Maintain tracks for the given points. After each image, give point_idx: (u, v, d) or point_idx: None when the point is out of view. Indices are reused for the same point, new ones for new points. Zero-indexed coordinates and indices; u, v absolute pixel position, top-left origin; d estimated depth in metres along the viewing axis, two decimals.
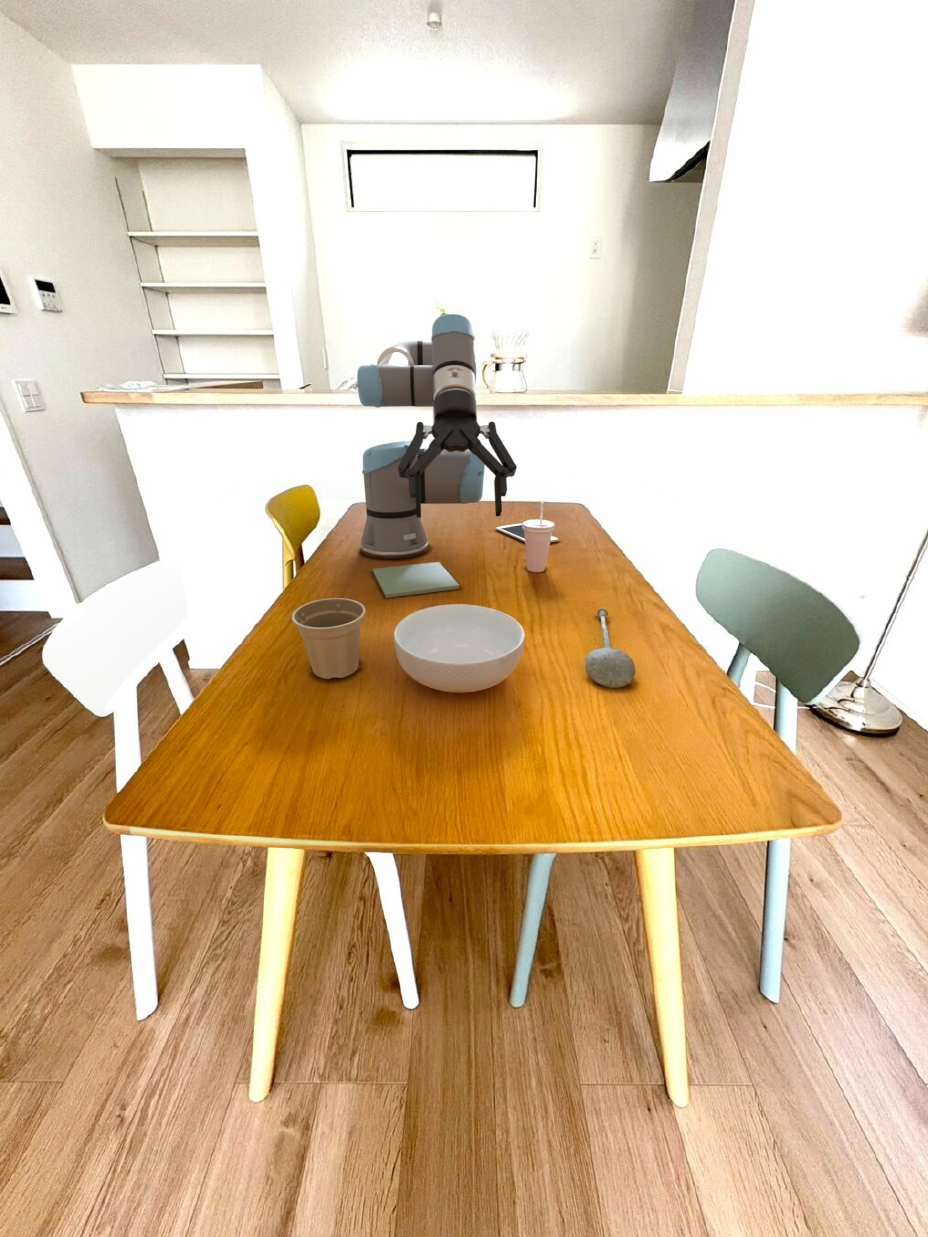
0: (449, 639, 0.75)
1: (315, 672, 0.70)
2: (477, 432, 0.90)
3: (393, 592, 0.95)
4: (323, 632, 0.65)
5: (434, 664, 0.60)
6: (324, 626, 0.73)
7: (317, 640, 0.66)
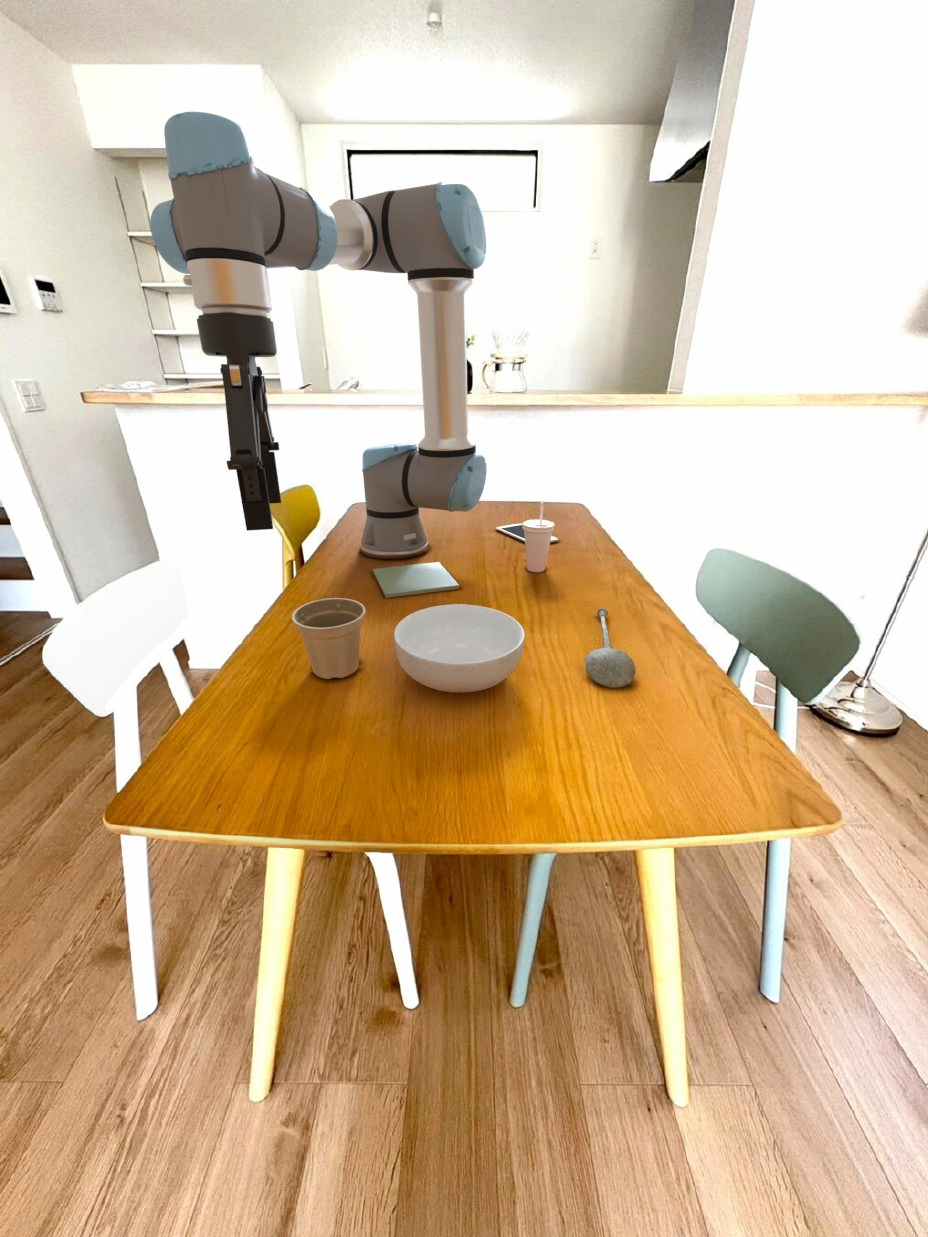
0: (449, 639, 0.75)
1: (315, 672, 0.70)
2: None
3: (393, 592, 0.95)
4: (323, 632, 0.65)
5: (434, 664, 0.60)
6: (324, 626, 0.73)
7: (317, 640, 0.66)
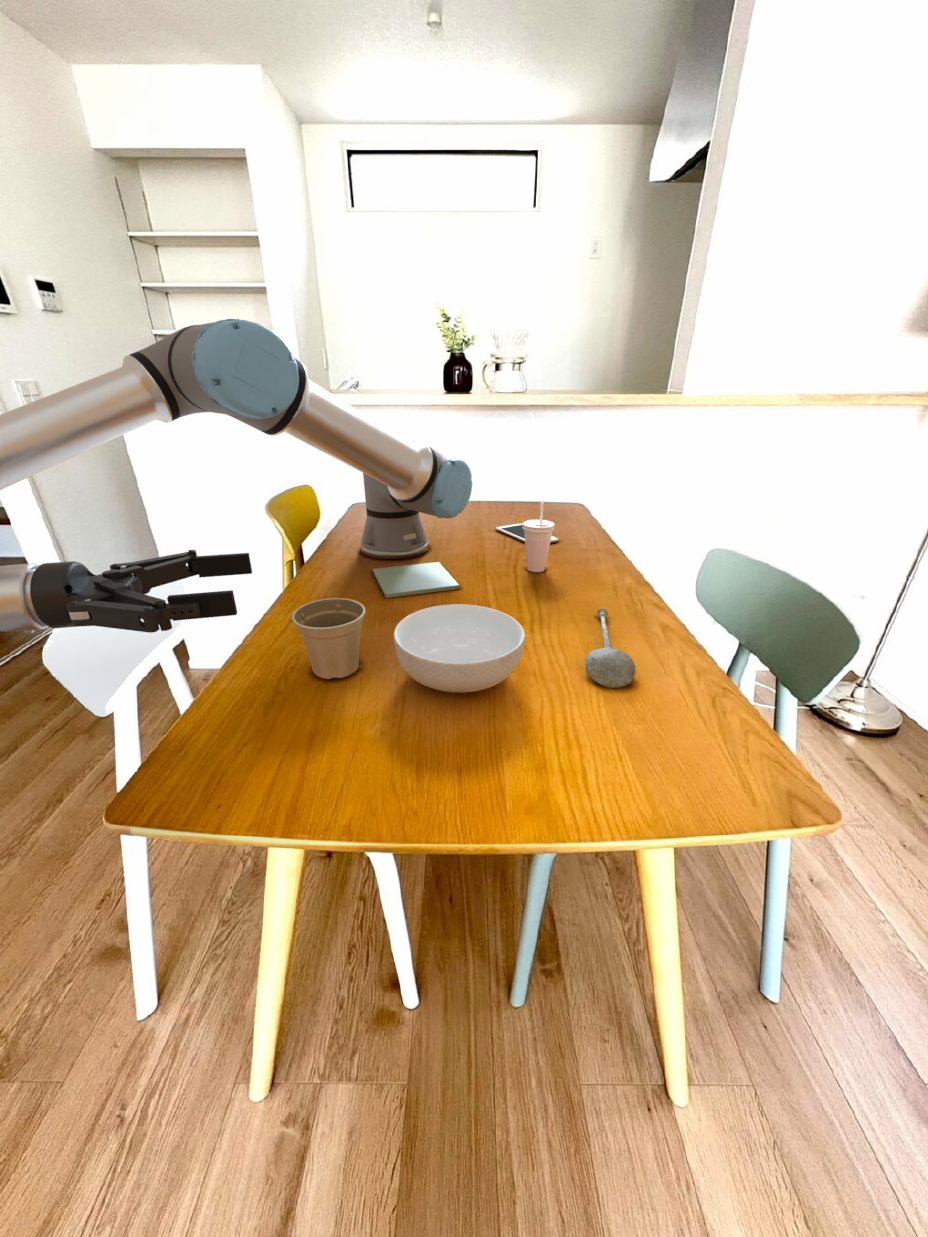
0: (449, 639, 0.75)
1: (315, 672, 0.70)
2: None
3: (393, 592, 0.95)
4: (323, 632, 0.65)
5: (434, 664, 0.60)
6: (324, 626, 0.73)
7: (317, 640, 0.66)
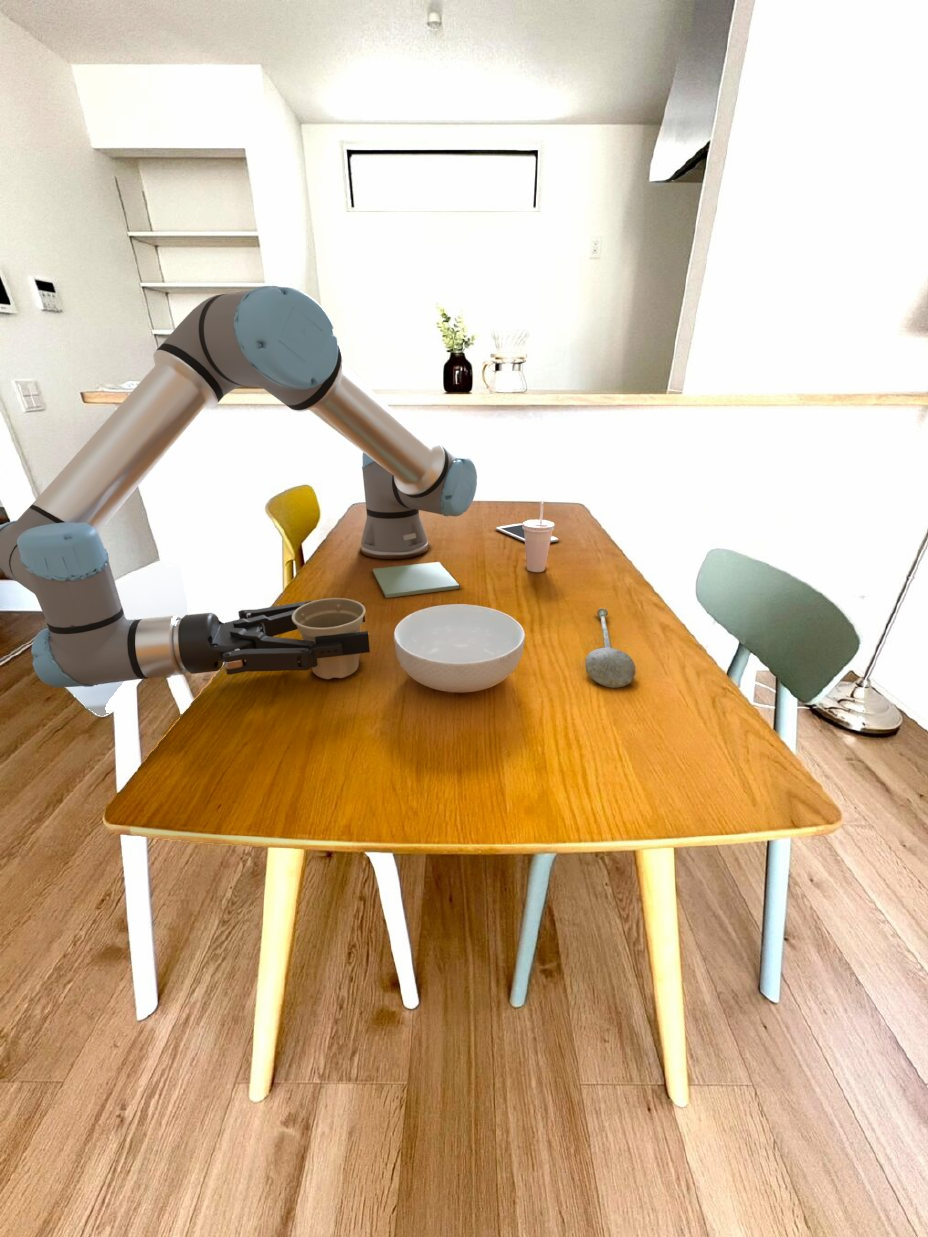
0: (449, 639, 0.75)
1: (315, 672, 0.70)
2: None
3: (393, 592, 0.95)
4: (323, 632, 0.65)
5: (434, 664, 0.60)
6: (324, 626, 0.73)
7: None
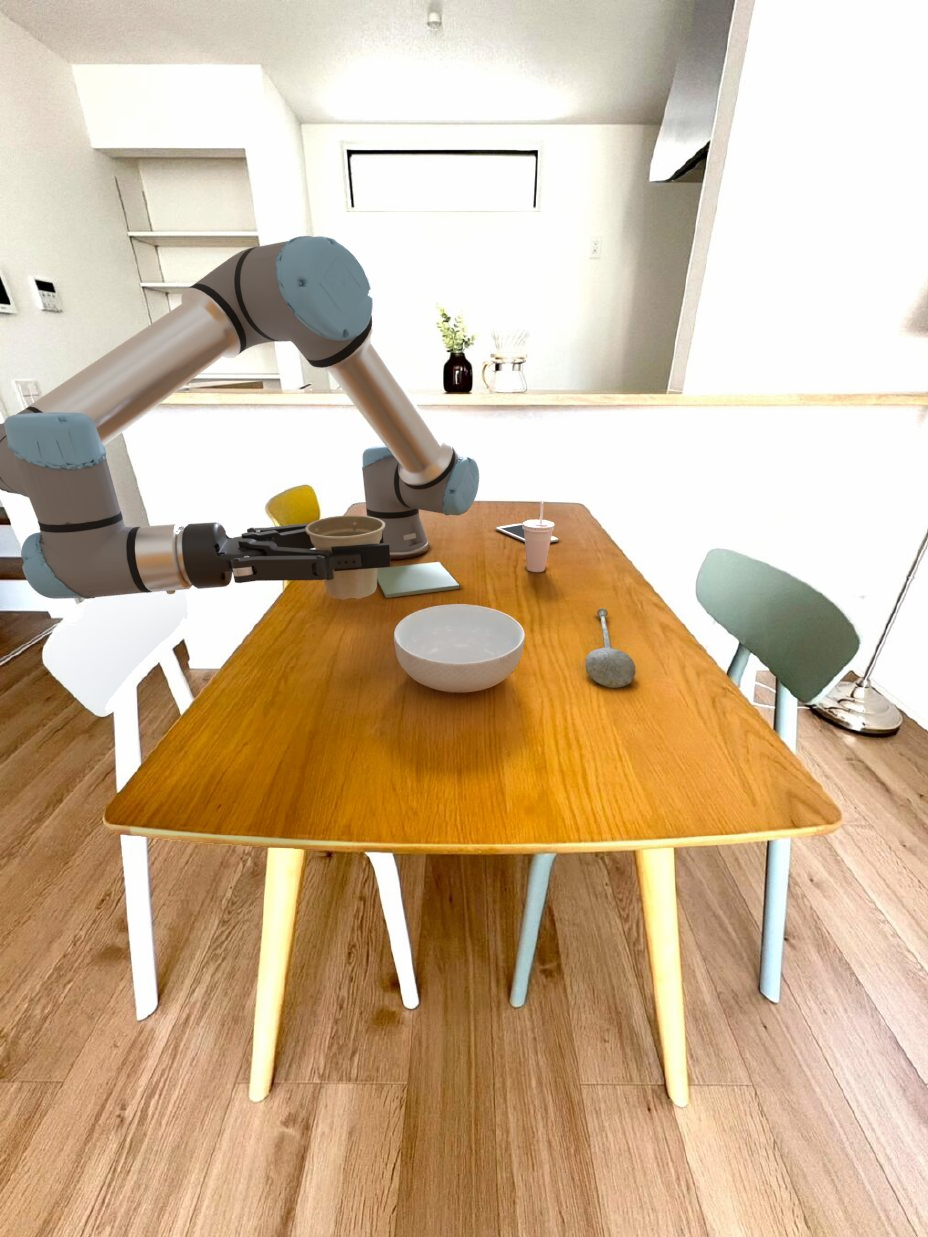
0: (449, 639, 0.75)
1: (330, 592, 0.64)
2: None
3: (393, 592, 0.95)
4: (340, 542, 0.59)
5: (434, 664, 0.60)
6: None
7: None
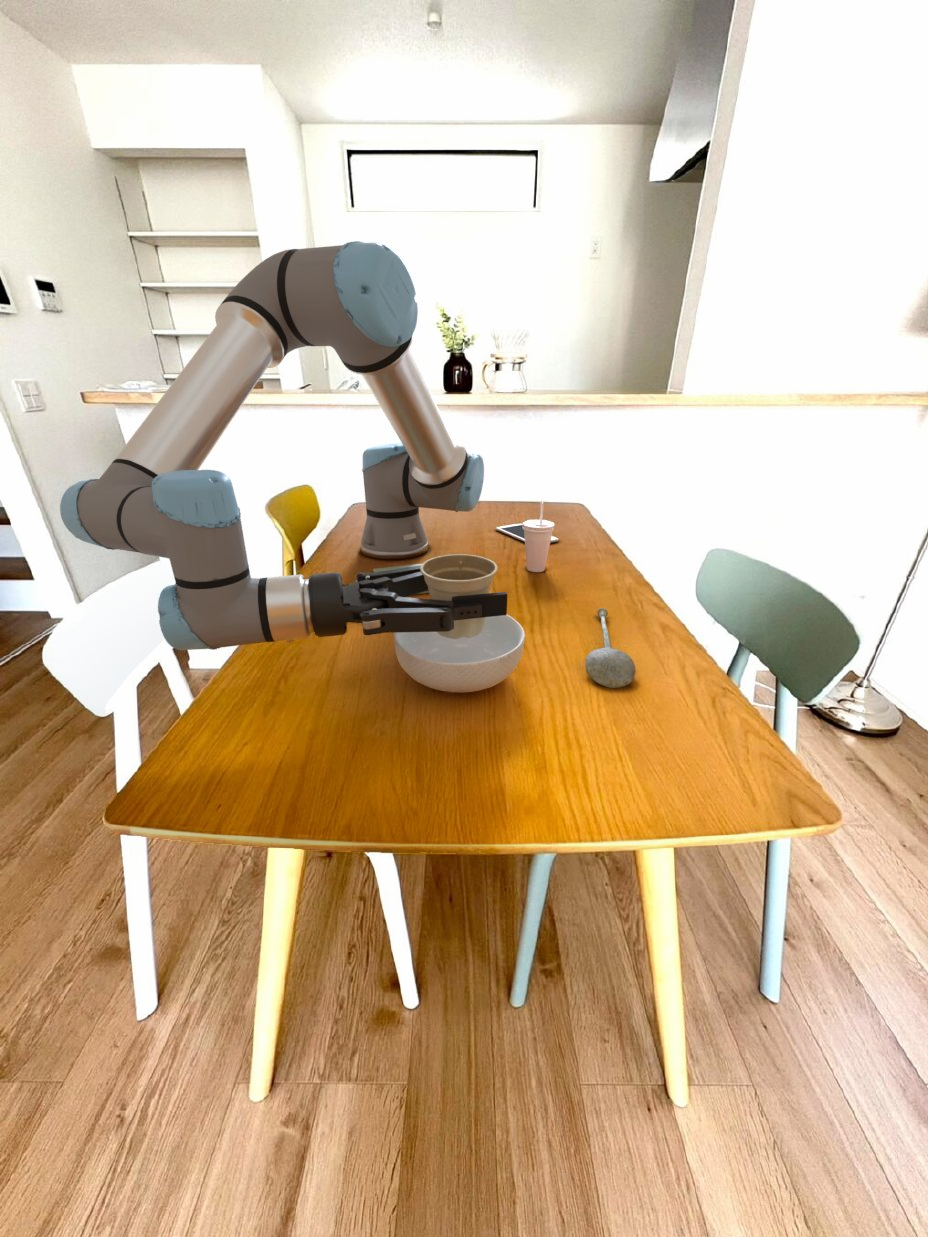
0: (449, 639, 0.75)
1: (441, 632, 0.65)
2: None
3: None
4: (460, 585, 0.60)
5: (434, 664, 0.60)
6: None
7: (451, 595, 0.61)
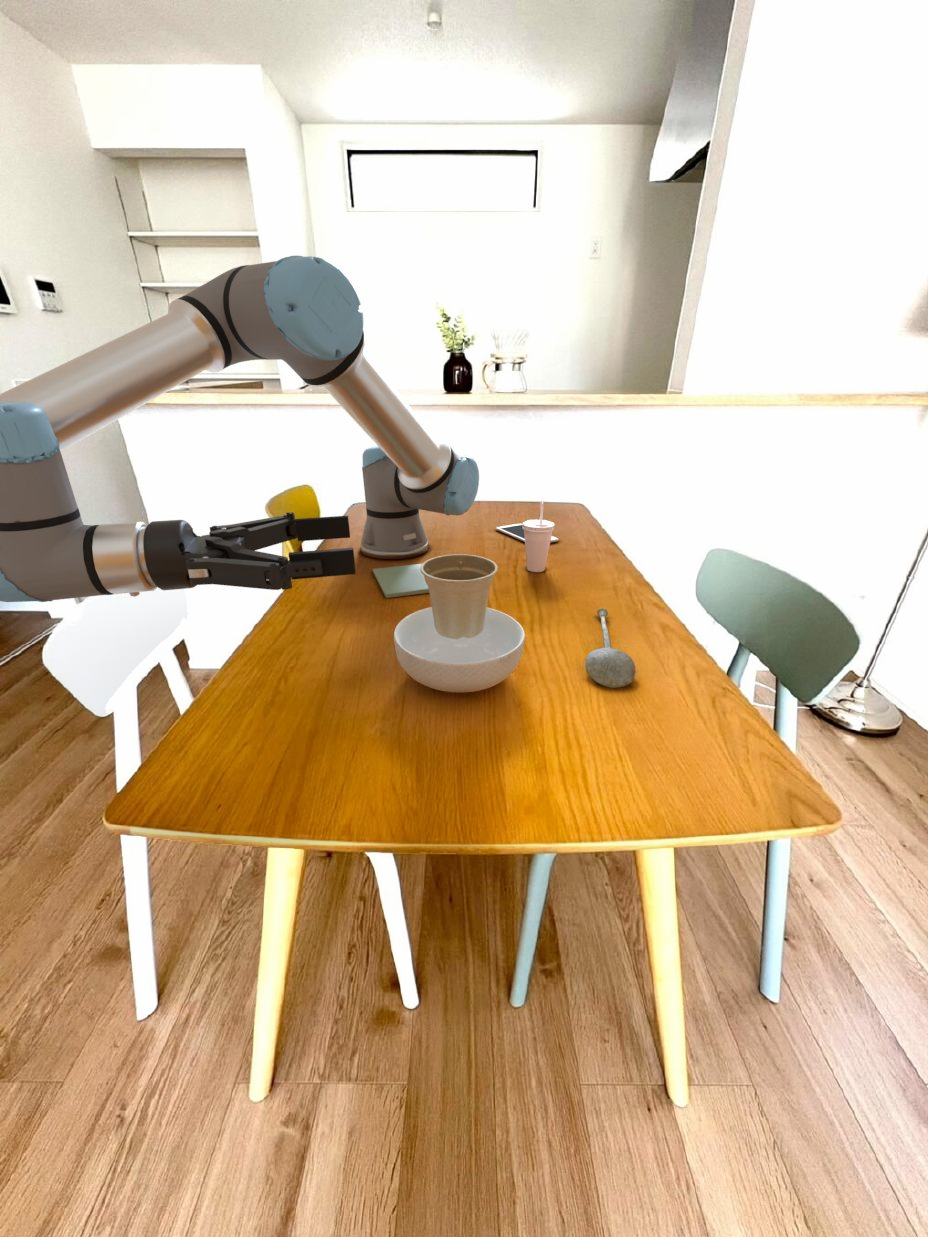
0: (449, 639, 0.75)
1: (441, 632, 0.65)
2: None
3: (393, 592, 0.95)
4: (460, 585, 0.60)
5: (434, 664, 0.60)
6: None
7: (451, 595, 0.61)
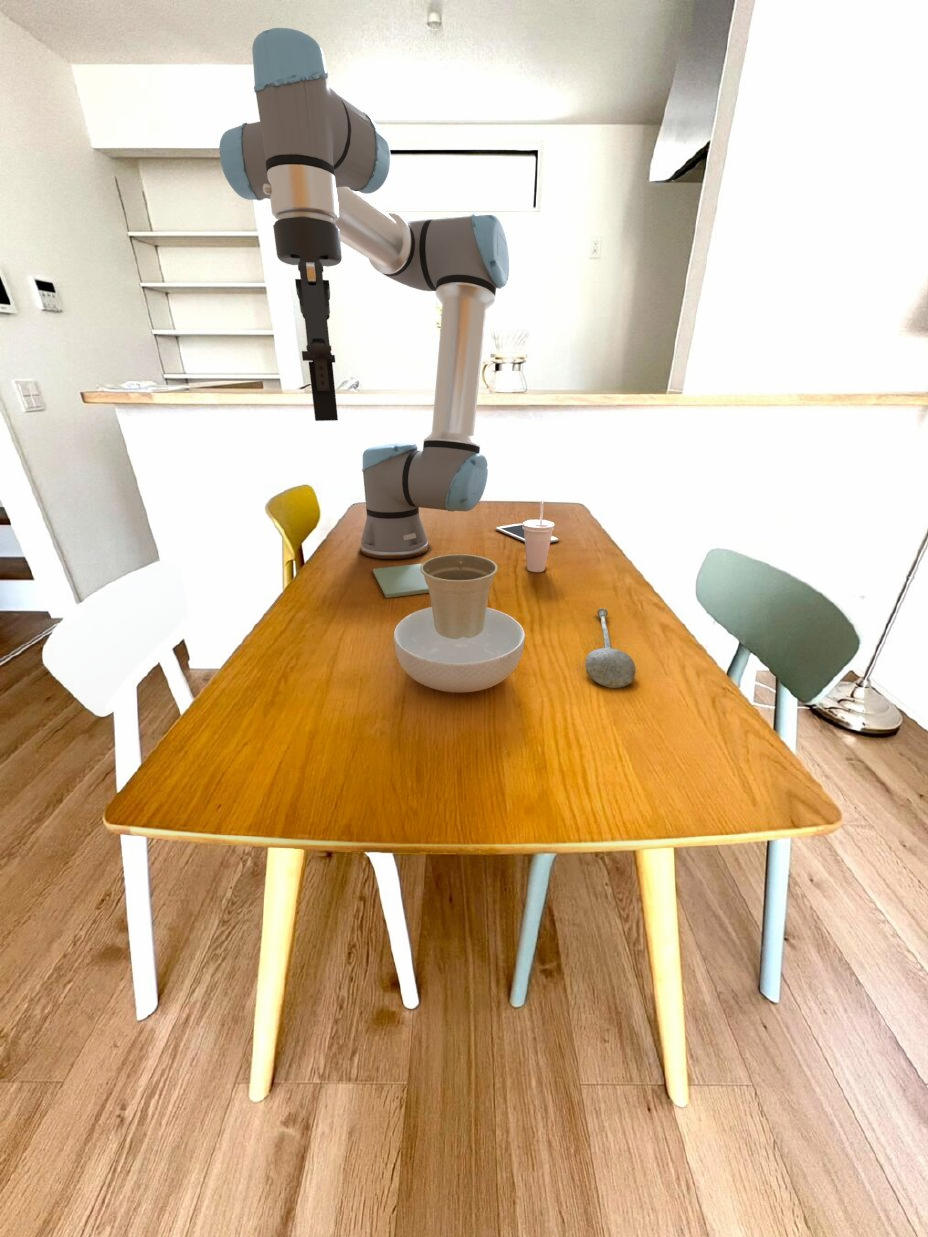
0: (449, 639, 0.75)
1: (441, 632, 0.65)
2: None
3: (393, 592, 0.95)
4: (460, 585, 0.60)
5: (434, 664, 0.60)
6: None
7: (451, 595, 0.61)
